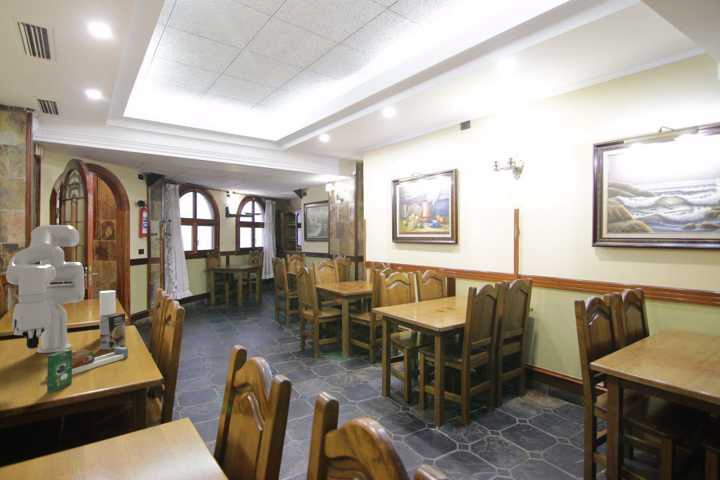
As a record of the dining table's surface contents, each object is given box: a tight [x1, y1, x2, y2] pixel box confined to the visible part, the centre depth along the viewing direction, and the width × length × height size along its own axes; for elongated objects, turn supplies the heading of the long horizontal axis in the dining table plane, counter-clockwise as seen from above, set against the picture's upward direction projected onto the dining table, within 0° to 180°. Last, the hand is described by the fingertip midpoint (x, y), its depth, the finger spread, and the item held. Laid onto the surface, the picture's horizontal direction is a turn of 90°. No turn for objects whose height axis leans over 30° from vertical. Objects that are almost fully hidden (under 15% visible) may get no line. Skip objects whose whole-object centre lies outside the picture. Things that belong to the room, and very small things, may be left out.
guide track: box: [72, 346, 129, 375], centre depth 155 cm, size 7×28×4 cm, turn 157°
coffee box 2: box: [99, 312, 126, 351], centre depth 181 cm, size 9×6×16 cm
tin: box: [72, 348, 96, 369], centre depth 149 cm, size 15×3×8 cm, turn 148°
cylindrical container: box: [99, 290, 117, 318], centre depth 198 cm, size 7×7×25 cm
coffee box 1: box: [46, 348, 73, 393], centre depth 133 cm, size 8×3×13 cm, turn 178°
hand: (32, 347), depth 136 cm, fingers closed
